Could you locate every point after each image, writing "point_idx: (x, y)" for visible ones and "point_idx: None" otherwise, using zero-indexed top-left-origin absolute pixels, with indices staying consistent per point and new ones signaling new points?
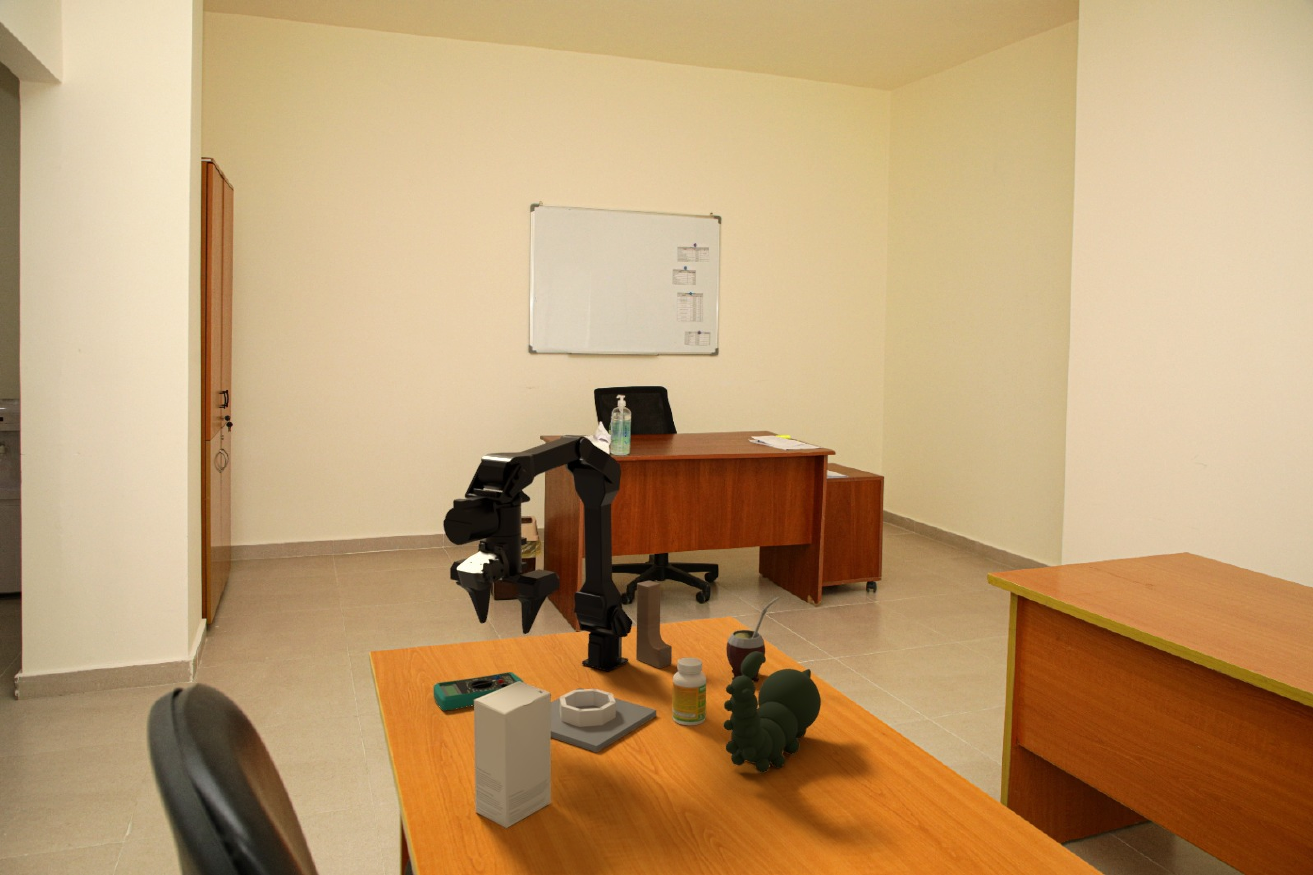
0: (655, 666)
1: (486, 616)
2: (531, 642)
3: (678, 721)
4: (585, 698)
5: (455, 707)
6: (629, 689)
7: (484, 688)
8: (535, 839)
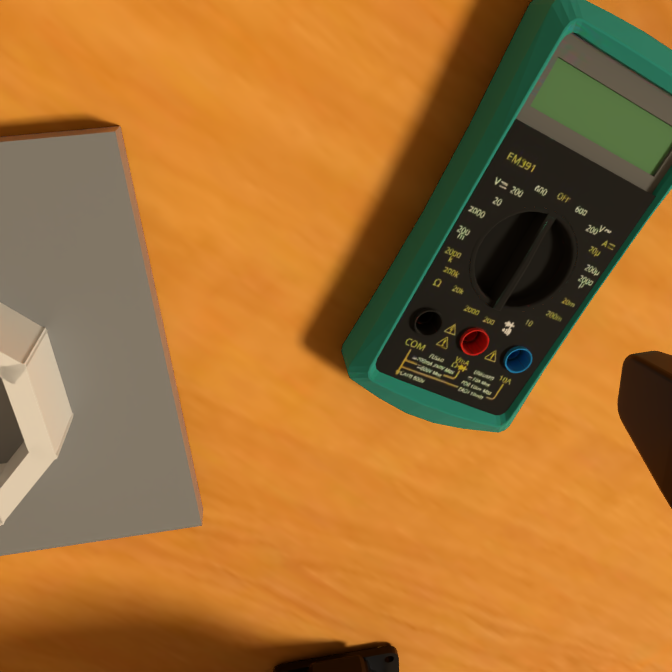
0: None
1: (650, 456)
2: (667, 640)
3: None
4: (15, 460)
5: (505, 55)
6: (98, 631)
7: (503, 261)
8: None
